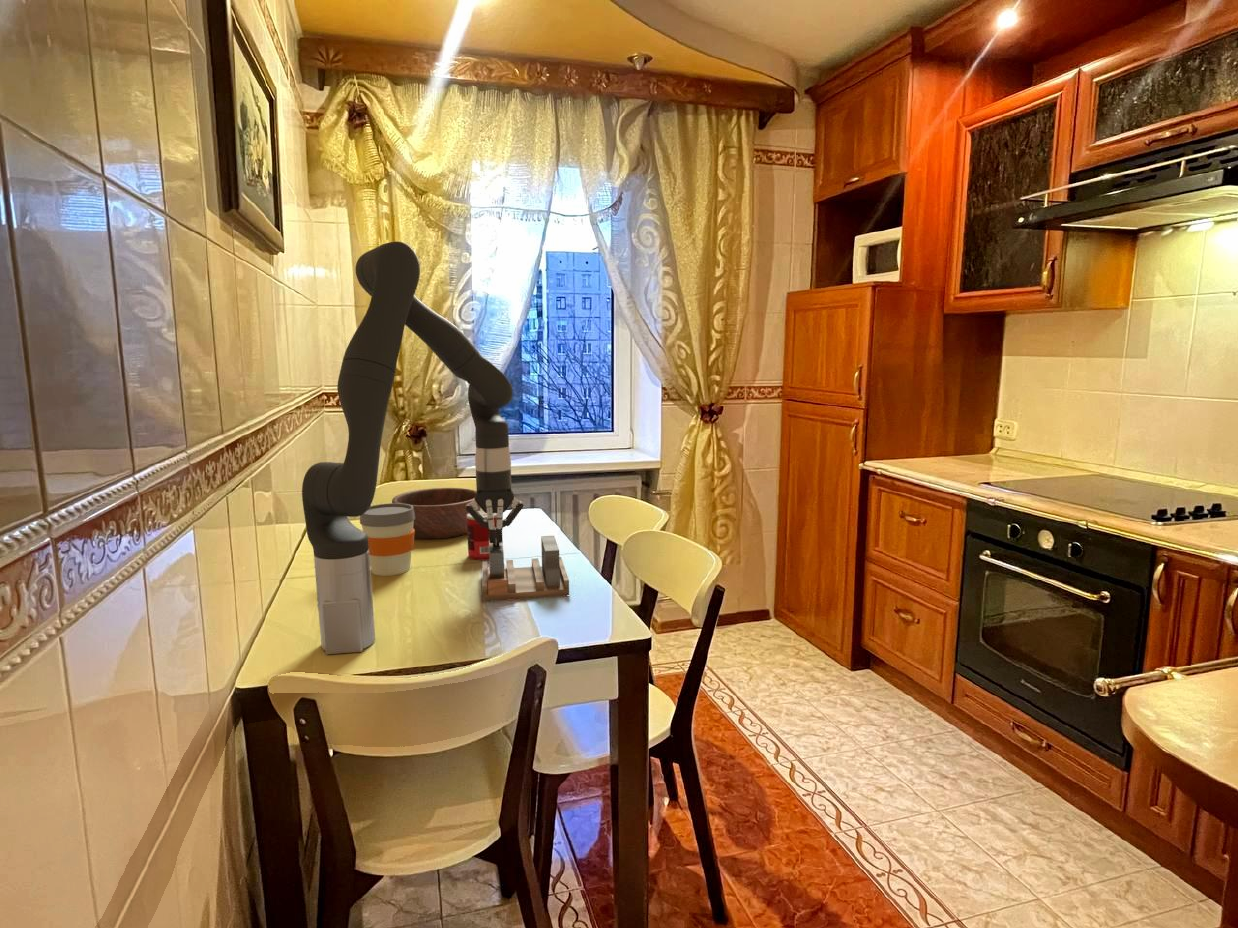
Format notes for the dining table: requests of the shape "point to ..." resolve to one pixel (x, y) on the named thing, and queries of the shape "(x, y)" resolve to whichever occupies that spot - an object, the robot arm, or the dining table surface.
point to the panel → (496, 561)
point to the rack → (529, 577)
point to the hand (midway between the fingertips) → (496, 544)
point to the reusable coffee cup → (389, 537)
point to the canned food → (478, 537)
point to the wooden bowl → (438, 511)
